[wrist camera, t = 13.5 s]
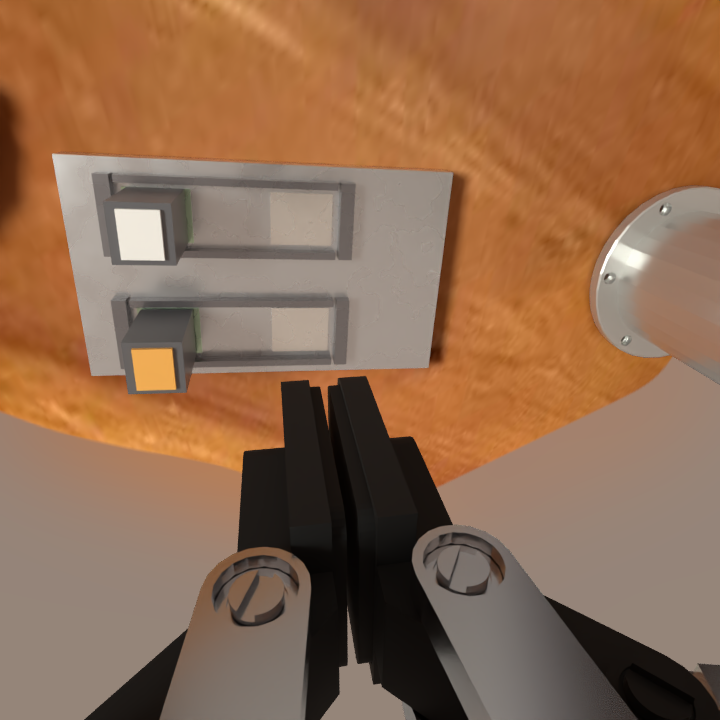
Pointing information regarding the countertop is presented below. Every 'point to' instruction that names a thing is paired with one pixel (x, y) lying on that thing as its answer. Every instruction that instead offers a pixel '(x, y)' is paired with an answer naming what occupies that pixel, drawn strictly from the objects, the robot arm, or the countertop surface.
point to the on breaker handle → (146, 226)
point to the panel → (267, 261)
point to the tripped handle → (159, 351)
